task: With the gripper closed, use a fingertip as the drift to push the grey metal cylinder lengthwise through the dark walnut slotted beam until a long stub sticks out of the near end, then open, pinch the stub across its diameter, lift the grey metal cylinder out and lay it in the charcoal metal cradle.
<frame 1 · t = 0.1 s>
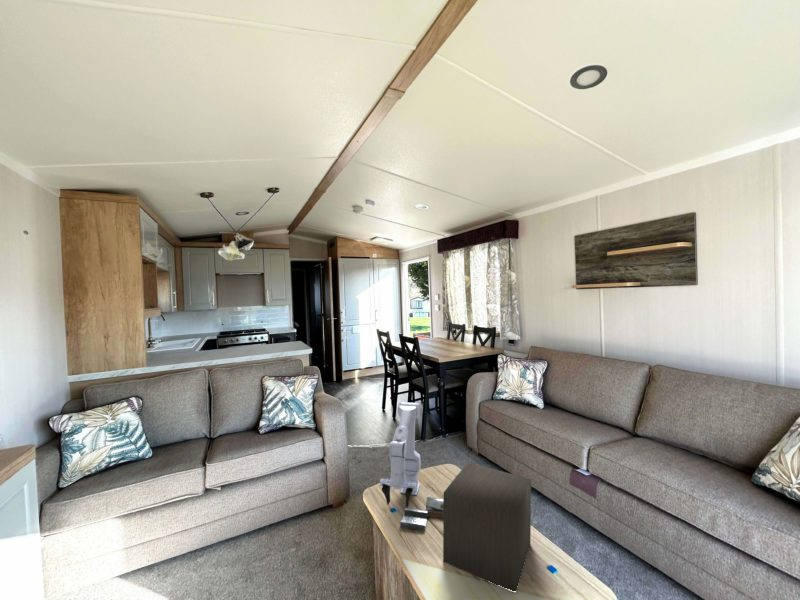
hand: (397, 504, 137), 10 cm above the table, fingers open, 7 cm apart
grey metal cylinder: (439, 511, 148), on the table
wood block: (488, 553, 125), on the table
beam: (435, 510, 148), on the table
cradle: (414, 521, 141), on the table
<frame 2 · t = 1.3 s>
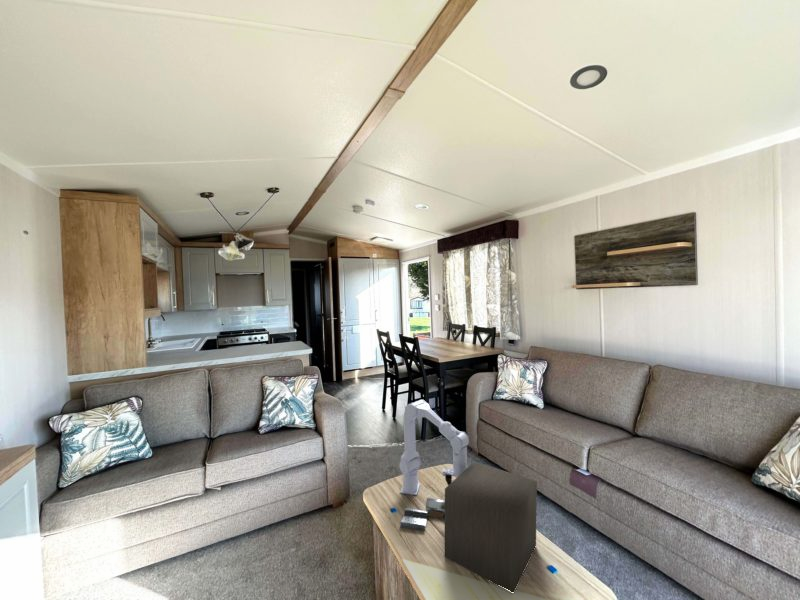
hand: (459, 493, 145), 10 cm above the table, fingers open, 7 cm apart
grey metal cylinder: (439, 511, 148), on the table, tilted 13°
wood block: (491, 552, 125), on the table, touching gripper
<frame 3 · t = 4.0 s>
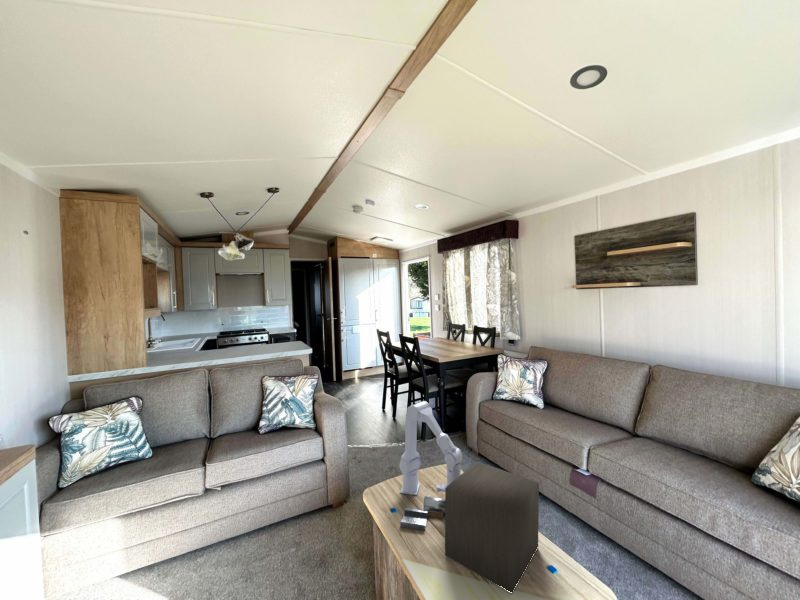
hand: (453, 509, 147), 2 cm above the table, fingers closed
grey metal cylinder: (436, 510, 148), on the table, touching gripper
wood block: (492, 552, 125), on the table
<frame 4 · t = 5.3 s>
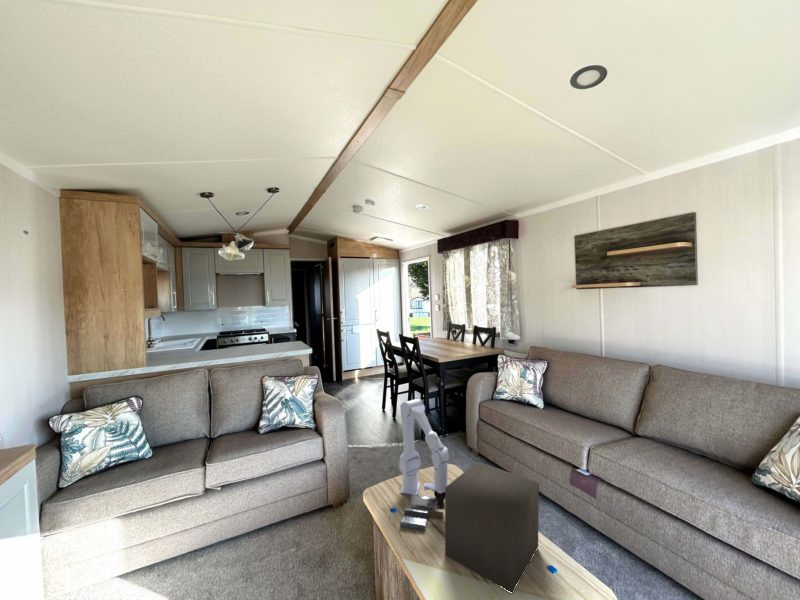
hand: (440, 507, 148), 2 cm above the table, fingers closed
grey metal cylinder: (424, 509, 150), on the table, touching gripper
everything else where it was.
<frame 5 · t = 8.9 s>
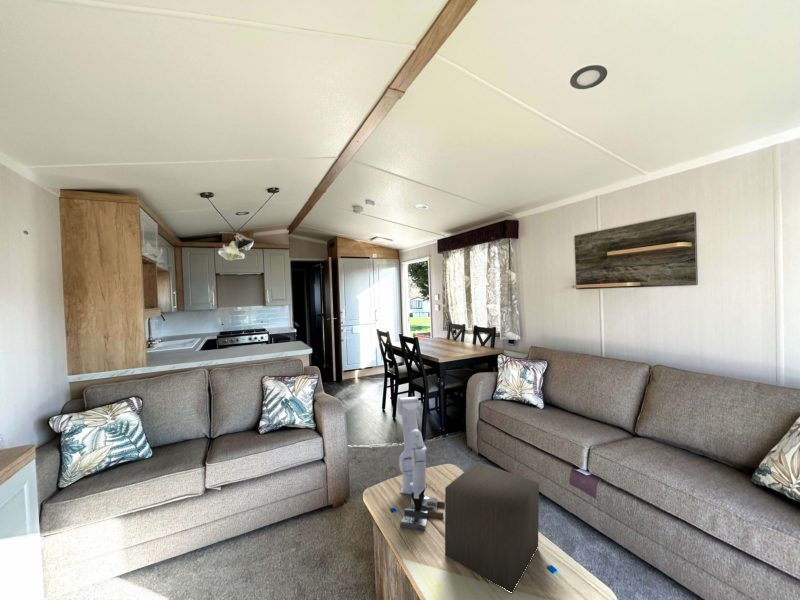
hand: (419, 505, 150), 1 cm above the table, fingers closed on grey metal cylinder, 5 cm apart
grey metal cylinder: (424, 509, 150), on the table, touching gripper
everything else where it was.
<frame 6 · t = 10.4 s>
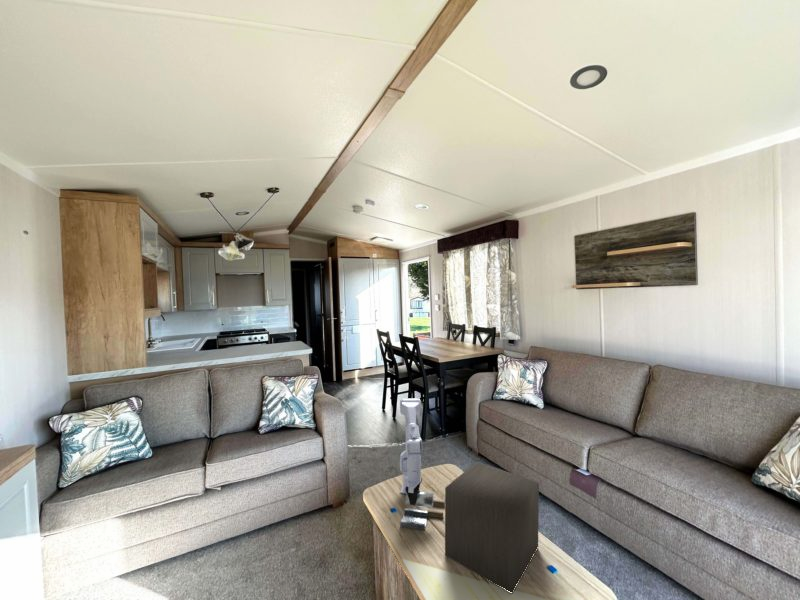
hand: (413, 500, 142), 9 cm above the table, fingers closed on grey metal cylinder, 5 cm apart
grey metal cylinder: (419, 505, 142), point 7 cm above the table, touching gripper
everything else where it was.
when the fingers open (4 cm above the table, at t = 11.9 s): grey metal cylinder drops 1 cm, resting on cradle.
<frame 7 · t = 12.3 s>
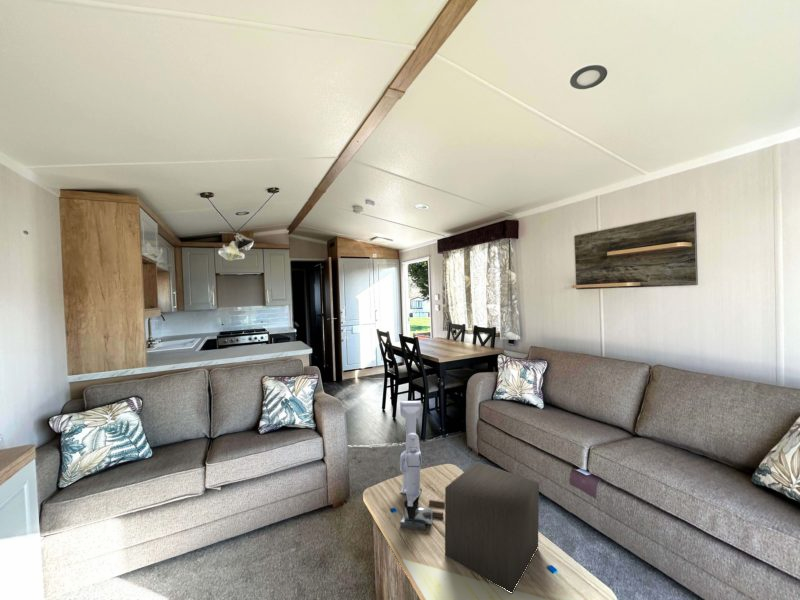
hand: (413, 512, 141), 4 cm above the table, fingers open, 7 cm apart
grey metal cylinder: (418, 520, 141), point 1 cm above the table, touching cradle
everything else where it was.
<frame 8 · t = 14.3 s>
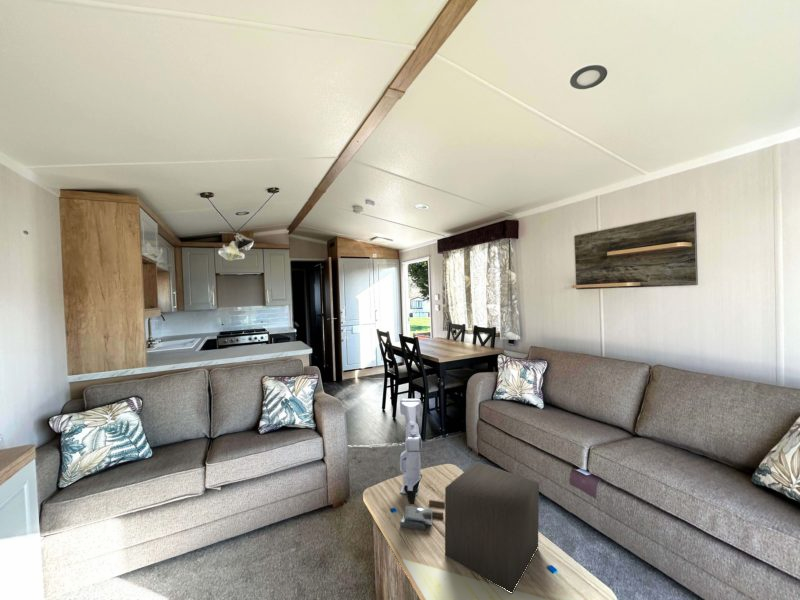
hand: (413, 498, 141), 10 cm above the table, fingers open, 7 cm apart
grey metal cylinder: (418, 520, 141), point 1 cm above the table, tilted 8°, touching cradle
everything else where it was.
at the end: grey metal cylinder inside the target area on the cradle (1.8 cm from its centre), point 0.6 cm above the cradle's base; the gripper is holding nothing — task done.
